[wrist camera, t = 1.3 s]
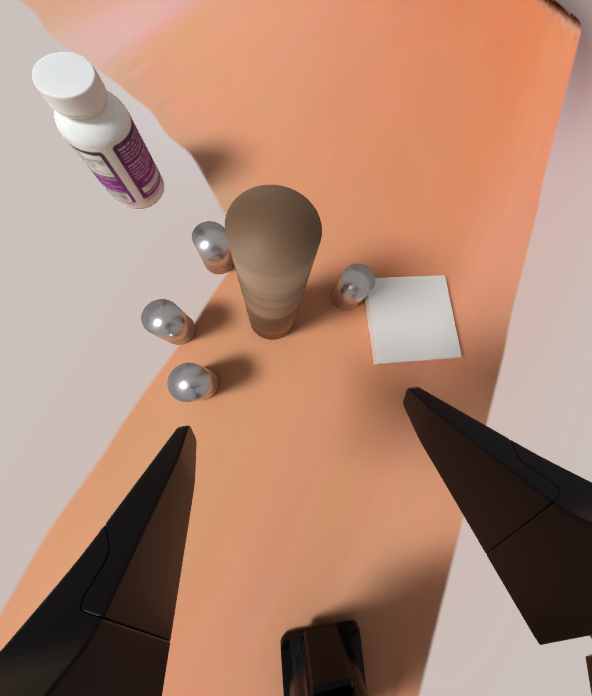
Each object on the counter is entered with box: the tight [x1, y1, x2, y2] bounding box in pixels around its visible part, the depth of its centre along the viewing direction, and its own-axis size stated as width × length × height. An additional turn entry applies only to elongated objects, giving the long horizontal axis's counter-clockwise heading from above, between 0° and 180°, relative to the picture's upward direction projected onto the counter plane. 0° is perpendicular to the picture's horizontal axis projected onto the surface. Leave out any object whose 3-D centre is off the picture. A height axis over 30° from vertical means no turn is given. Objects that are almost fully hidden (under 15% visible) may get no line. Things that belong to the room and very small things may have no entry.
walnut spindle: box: [225, 185, 322, 340], centre depth 18 cm, size 4×4×14 cm
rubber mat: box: [364, 275, 462, 365], centre depth 26 cm, size 9×9×1 cm
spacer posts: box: [141, 221, 375, 402], centre depth 23 cm, size 16×20×4 cm
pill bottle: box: [32, 52, 164, 209], centre depth 21 cm, size 5×5×10 cm
